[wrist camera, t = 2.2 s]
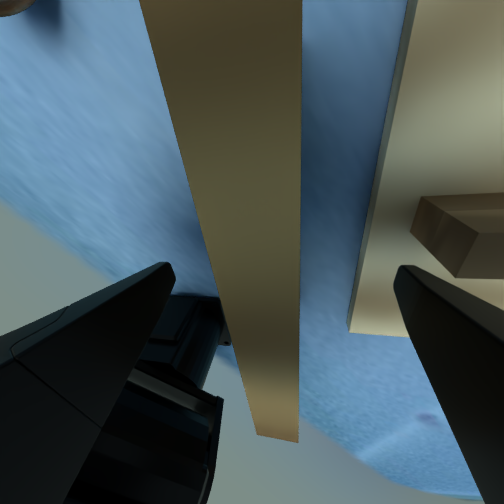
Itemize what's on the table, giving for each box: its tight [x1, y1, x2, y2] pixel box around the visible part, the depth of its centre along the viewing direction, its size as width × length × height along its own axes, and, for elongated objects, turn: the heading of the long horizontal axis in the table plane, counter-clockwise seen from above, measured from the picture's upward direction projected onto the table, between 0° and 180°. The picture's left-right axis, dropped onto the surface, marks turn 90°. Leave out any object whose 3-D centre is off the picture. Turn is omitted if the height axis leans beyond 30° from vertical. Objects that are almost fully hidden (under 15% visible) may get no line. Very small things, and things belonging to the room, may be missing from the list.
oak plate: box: [139, 0, 302, 443], centre depth 9 cm, size 16×2×9 cm, turn 7°
